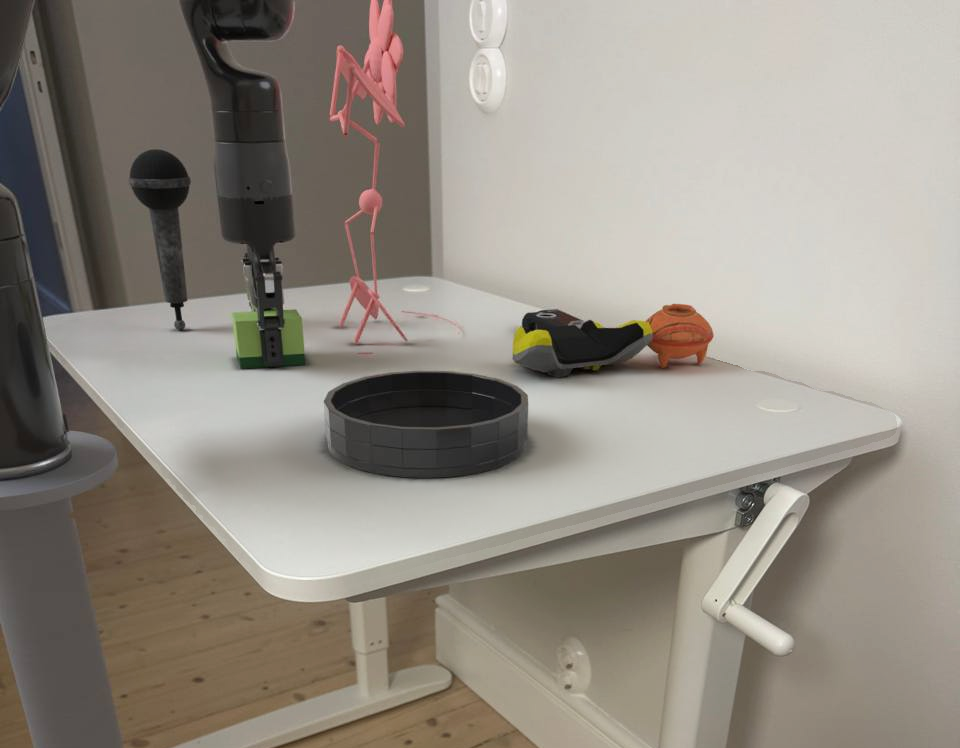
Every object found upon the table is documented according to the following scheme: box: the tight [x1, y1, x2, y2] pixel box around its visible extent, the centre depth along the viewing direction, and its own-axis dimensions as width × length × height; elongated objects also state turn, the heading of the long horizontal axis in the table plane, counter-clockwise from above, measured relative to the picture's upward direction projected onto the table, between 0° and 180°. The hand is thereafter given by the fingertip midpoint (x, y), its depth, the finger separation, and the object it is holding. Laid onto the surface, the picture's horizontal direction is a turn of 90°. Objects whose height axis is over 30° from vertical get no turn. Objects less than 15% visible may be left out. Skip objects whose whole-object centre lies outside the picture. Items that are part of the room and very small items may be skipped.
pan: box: [323, 370, 529, 479], centre depth 85 cm, size 17×17×4 cm
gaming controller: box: [512, 319, 653, 377], centre depth 105 cm, size 15×6×10 cm
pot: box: [644, 303, 714, 368], centre depth 109 cm, size 8×8×7 cm
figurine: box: [329, 0, 460, 355], centre depth 113 cm, size 15×26×35 cm, turn 18°
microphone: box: [128, 148, 192, 331], centre depth 116 cm, size 7×7×20 cm
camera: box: [521, 308, 585, 332], centre depth 120 cm, size 6×3×11 cm
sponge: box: [231, 308, 307, 370], centre depth 108 cm, size 7×4×5 cm, turn 107°
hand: (270, 358), depth 109 cm, fingers closed on sponge, 4 cm apart
